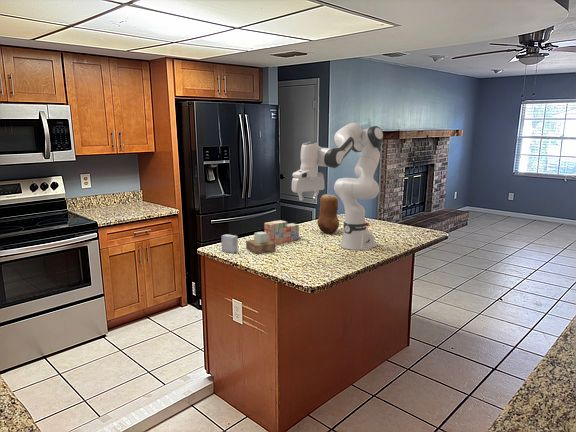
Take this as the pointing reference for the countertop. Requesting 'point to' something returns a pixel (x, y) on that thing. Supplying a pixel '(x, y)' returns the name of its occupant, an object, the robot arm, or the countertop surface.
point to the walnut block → (260, 246)
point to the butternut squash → (328, 214)
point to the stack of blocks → (281, 231)
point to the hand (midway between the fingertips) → (308, 199)
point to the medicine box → (229, 243)
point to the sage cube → (260, 237)
